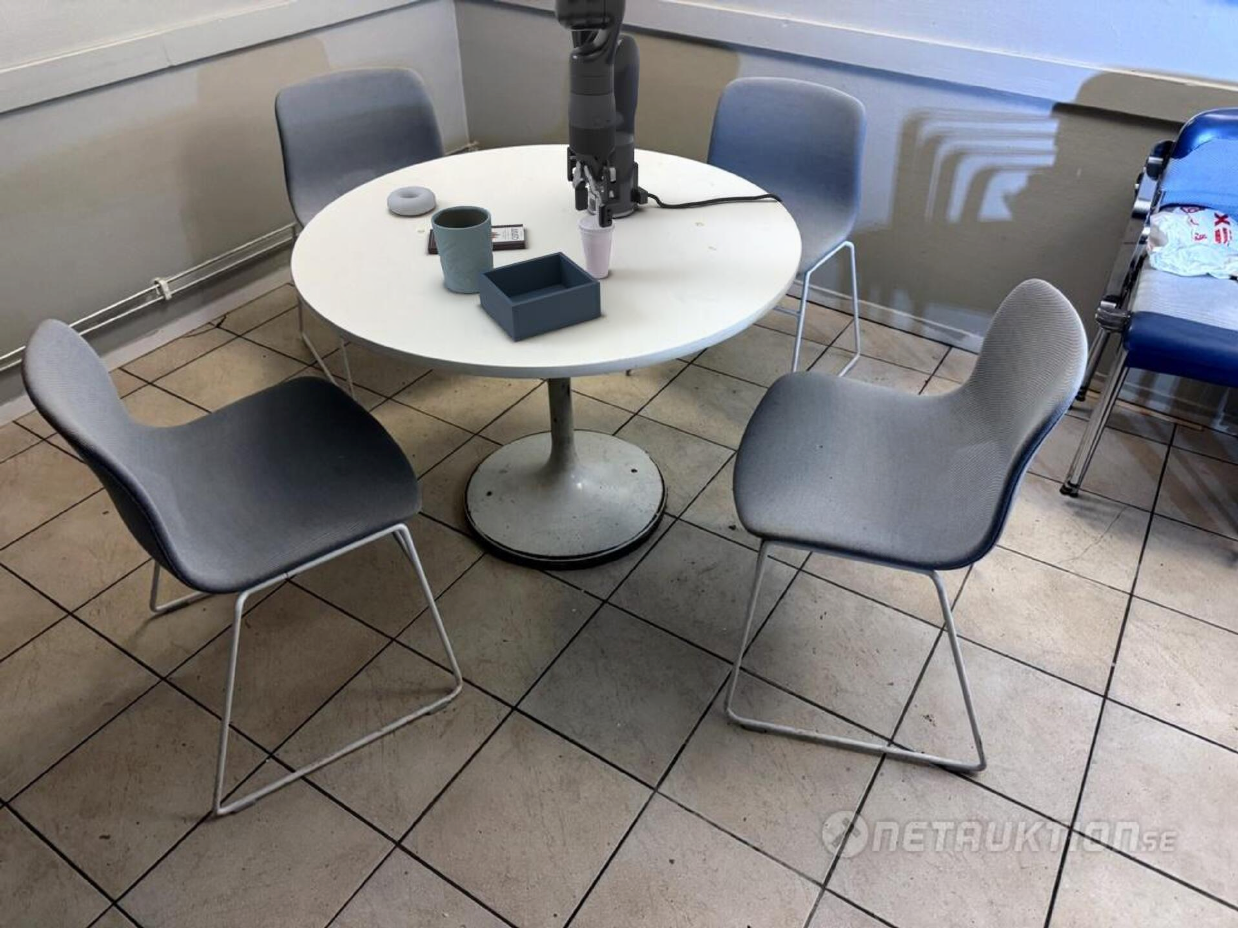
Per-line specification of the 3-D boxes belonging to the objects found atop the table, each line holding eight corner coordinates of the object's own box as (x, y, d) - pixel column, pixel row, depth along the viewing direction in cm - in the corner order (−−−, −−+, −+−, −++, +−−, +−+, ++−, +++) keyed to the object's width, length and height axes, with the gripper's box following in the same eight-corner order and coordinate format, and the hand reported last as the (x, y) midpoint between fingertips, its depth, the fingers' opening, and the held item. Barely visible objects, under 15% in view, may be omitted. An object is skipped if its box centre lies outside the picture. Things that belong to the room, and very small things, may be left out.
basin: (562, 283, 147) (561, 251, 143) (601, 316, 137) (600, 282, 134) (480, 305, 140) (476, 272, 137) (515, 341, 131) (511, 306, 127)
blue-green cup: (472, 300, 142) (464, 233, 134) (428, 286, 146) (417, 220, 138) (509, 277, 148) (503, 212, 141) (465, 264, 153) (457, 200, 145)
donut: (439, 199, 177) (391, 200, 177) (437, 183, 175) (388, 184, 174) (435, 218, 170) (385, 218, 169) (432, 201, 168) (382, 202, 167)
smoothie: (589, 285, 146) (587, 207, 137) (573, 270, 151) (570, 194, 142) (621, 277, 148) (621, 200, 140) (605, 263, 153) (604, 188, 144)
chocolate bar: (430, 229, 162) (522, 224, 164) (430, 233, 163) (523, 228, 165) (427, 248, 155) (524, 243, 157) (428, 253, 156) (525, 248, 158)
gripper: (635, 128, 129) (633, 228, 140) (591, 105, 139) (592, 200, 149) (592, 135, 126) (594, 237, 137) (550, 111, 136) (555, 208, 146)
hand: (593, 218), depth 143 cm, fingers open, 8 cm apart
